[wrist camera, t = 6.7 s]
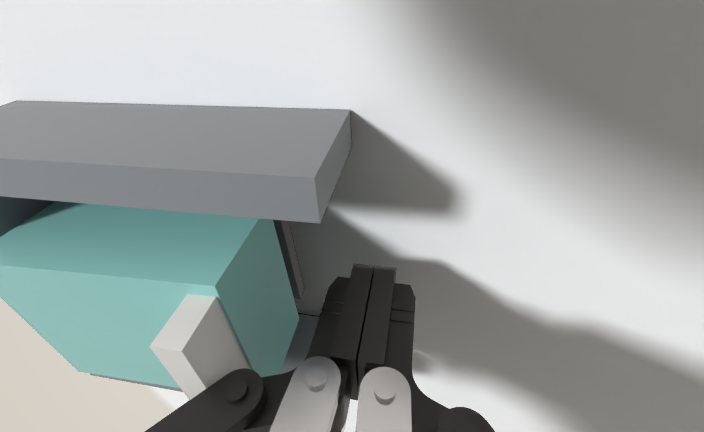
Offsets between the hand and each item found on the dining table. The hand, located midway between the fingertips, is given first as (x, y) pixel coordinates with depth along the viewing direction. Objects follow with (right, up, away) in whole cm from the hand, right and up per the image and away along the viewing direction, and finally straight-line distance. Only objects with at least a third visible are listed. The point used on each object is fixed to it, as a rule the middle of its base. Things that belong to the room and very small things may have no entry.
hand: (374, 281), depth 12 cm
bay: (-6, +1, +2) cm, 7 cm away
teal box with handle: (-7, +2, +2) cm, 8 cm away
